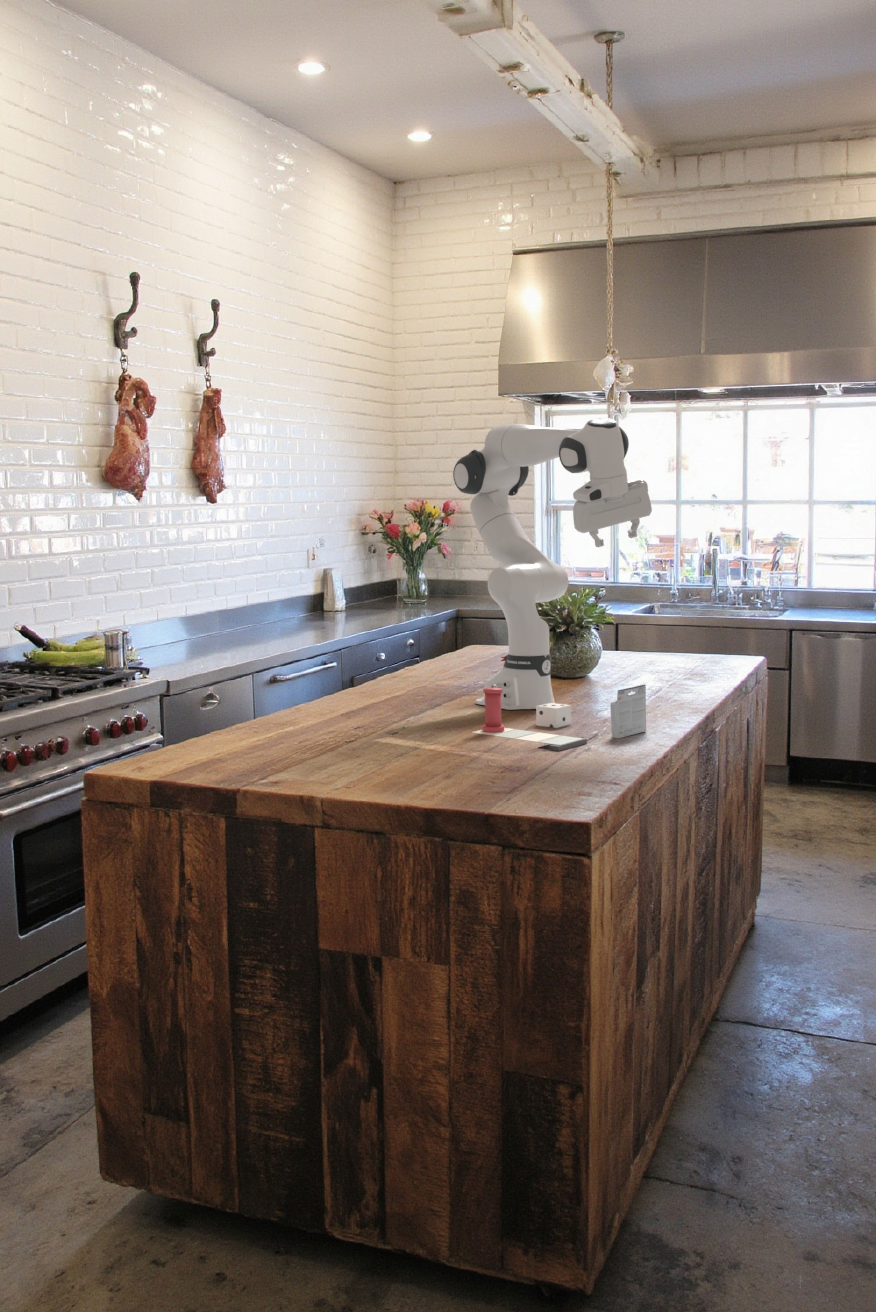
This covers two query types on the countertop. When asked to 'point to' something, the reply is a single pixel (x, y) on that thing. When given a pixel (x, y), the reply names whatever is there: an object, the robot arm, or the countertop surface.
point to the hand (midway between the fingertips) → (616, 541)
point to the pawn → (493, 710)
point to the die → (553, 715)
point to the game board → (540, 738)
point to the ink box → (629, 712)
